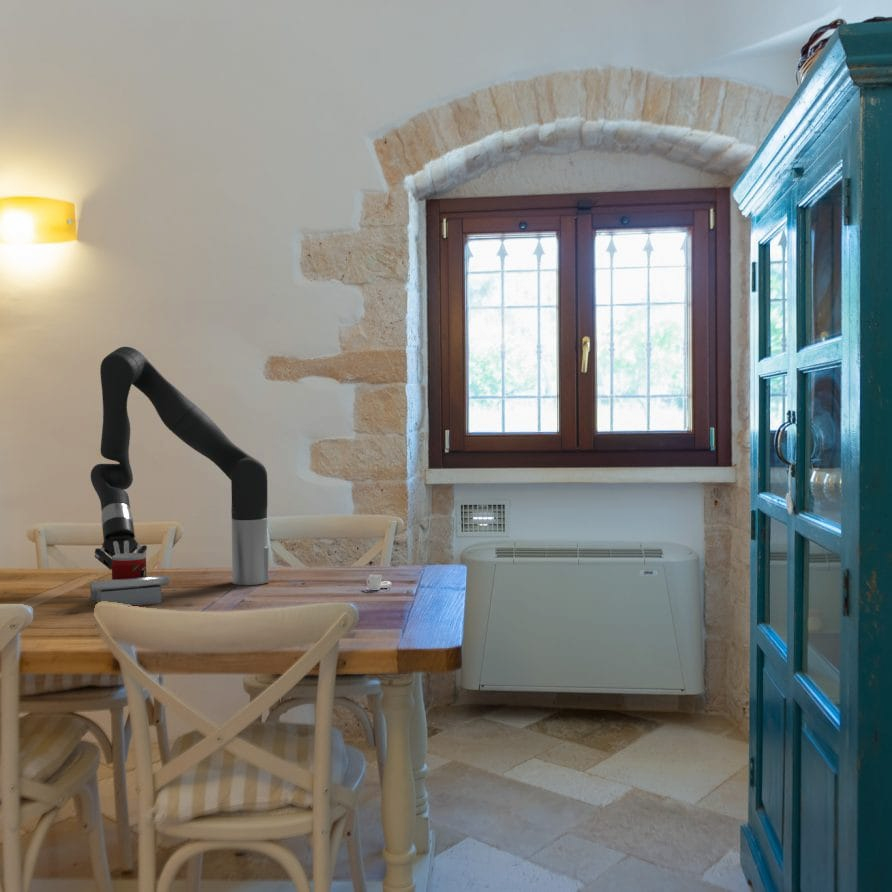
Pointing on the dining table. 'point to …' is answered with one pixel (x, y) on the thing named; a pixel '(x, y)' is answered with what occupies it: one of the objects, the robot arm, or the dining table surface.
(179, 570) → the dining table surface
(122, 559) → the canned food
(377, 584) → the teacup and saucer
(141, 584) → the cradle
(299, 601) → the dining table surface
